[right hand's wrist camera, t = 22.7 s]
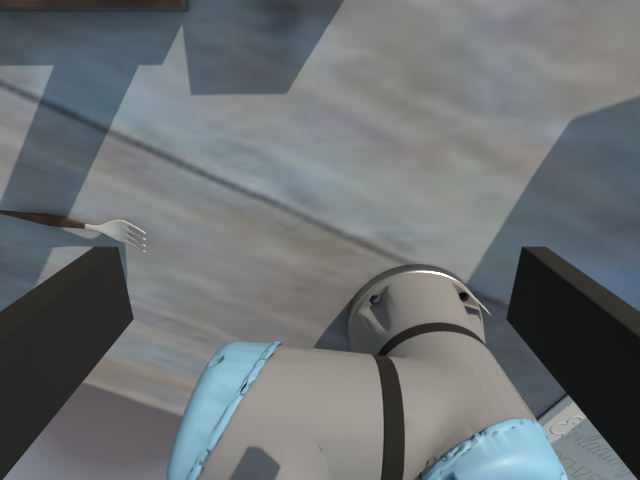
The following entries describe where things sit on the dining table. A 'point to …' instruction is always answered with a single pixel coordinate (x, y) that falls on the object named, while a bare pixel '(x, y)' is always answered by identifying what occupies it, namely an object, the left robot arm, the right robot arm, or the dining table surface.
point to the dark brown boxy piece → (93, 5)
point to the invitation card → (581, 445)
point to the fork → (84, 226)
